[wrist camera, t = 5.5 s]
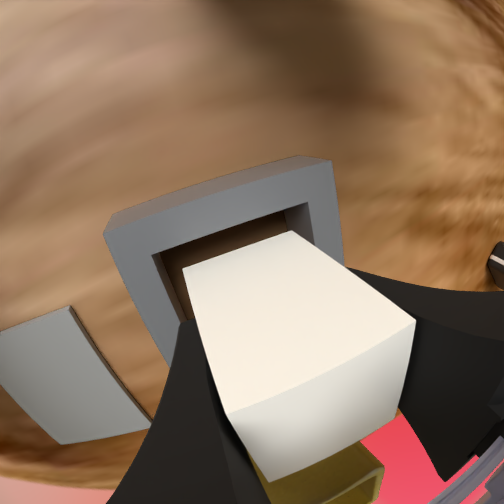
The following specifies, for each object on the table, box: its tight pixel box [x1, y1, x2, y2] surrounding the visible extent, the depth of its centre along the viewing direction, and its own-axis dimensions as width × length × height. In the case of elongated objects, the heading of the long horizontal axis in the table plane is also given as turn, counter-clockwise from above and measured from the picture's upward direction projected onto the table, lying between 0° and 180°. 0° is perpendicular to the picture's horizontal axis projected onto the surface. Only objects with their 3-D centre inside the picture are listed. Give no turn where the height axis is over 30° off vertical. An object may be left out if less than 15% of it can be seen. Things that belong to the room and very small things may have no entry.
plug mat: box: [0, 305, 152, 445], centre depth 12 cm, size 9×8×1 cm
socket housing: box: [103, 155, 344, 367], centre depth 12 cm, size 8×8×3 cm
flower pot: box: [247, 441, 385, 504], centre depth 13 cm, size 9×9×9 cm
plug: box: [183, 230, 416, 482], centre depth 8 cm, size 4×4×6 cm
